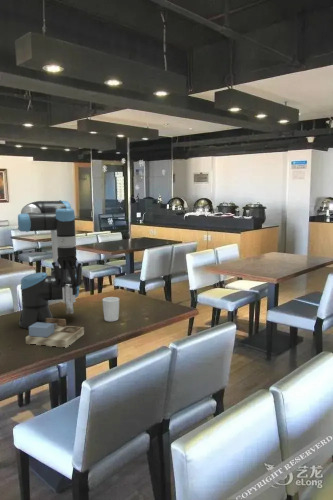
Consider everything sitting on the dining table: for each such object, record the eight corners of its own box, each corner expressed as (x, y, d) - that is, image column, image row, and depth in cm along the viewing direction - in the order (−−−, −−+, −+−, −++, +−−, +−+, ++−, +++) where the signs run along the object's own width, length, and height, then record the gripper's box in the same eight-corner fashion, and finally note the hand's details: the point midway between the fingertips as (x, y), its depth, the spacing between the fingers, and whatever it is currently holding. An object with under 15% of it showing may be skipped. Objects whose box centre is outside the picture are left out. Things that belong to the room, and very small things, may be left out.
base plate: (26, 344, 166) (25, 329, 165) (46, 330, 181) (46, 317, 180) (66, 347, 161) (65, 333, 160) (84, 333, 177) (83, 320, 176)
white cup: (116, 322, 191) (116, 301, 190) (100, 321, 193) (100, 300, 192) (121, 317, 199) (121, 297, 198) (106, 316, 201) (105, 296, 199)
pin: (64, 313, 170) (63, 285, 169) (68, 311, 173) (66, 284, 172) (71, 314, 170) (70, 286, 168) (74, 312, 173) (73, 284, 171)
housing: (29, 335, 166) (28, 326, 165) (37, 330, 172) (36, 322, 171) (46, 337, 164) (46, 328, 163) (54, 332, 170) (54, 323, 169)
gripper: (44, 247, 166) (47, 303, 169) (80, 248, 162) (82, 305, 165) (53, 244, 173) (56, 298, 176) (88, 245, 169) (90, 300, 173)
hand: (69, 302), depth 171 cm, fingers closed on pin, 3 cm apart
